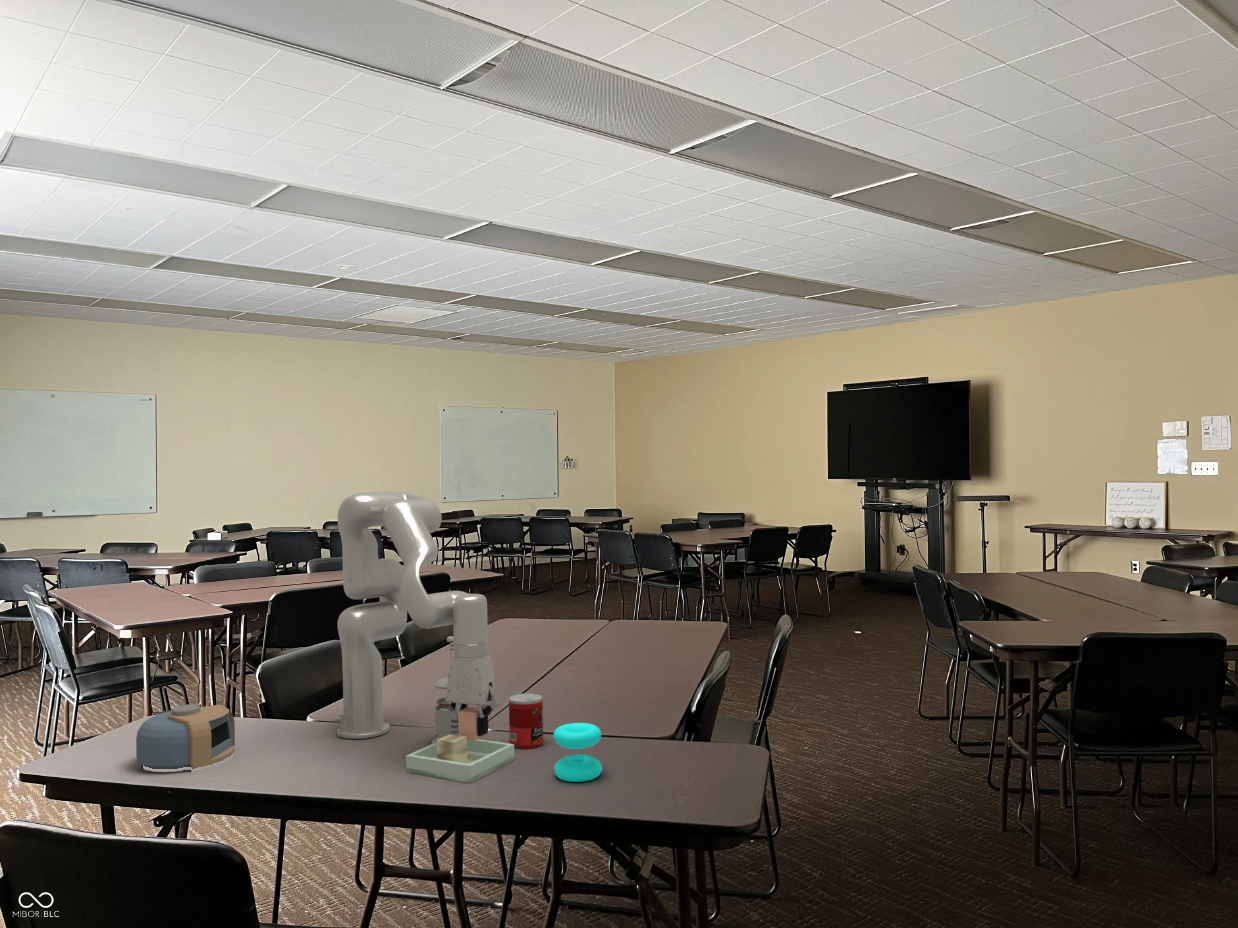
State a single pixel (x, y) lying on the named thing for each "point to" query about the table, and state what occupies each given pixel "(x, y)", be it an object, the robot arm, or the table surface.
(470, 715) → the terracotta block
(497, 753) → the tray
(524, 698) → the canned food
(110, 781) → the table surface
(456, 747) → the birch block
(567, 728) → the donuts
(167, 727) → the alarm clock
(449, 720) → the french press
